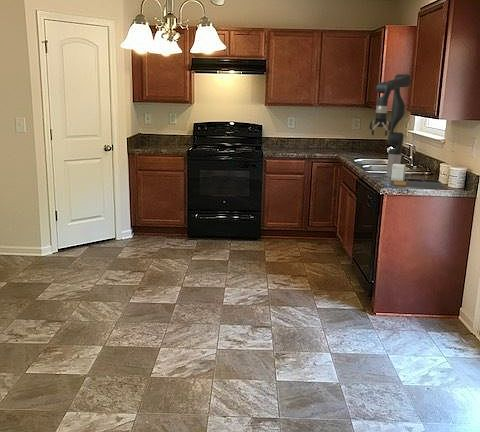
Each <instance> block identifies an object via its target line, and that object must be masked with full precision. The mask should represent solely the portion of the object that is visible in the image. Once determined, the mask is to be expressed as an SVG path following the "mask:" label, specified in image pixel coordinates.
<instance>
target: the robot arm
mask: <svg viewBox="0 0 480 432" xmlns="http://www.w3.org/2000/svg"><path fill="white" fill-rule="evenodd" d="M411 83H412V77H411V75H410V74H406V73H405V74H403V73H402V74H401V73H400V74H399V73H398V74H396V75H395V76H394V79H391V80H387V81H382V82H379V83H377V84H376V86H375V92H377V94H383V96H379V97H377V102H376V107H375V118H374V120H373V119H372V120H370V122H369V127H368V129H369V130H371V135H372V137H373V136H374V135H375V134H374V133H375V129H376V128H383V129H384V137H386V136H388V137H387V143H388V145H391V146H393V145H394V146H396V147H395V148H394V147H393V148H391V149H389V150H388V158H387V165H386V166H387V167H386V177H387V178H389V177H390V178H391V176H392V166H393V164H401V159H402V150H403V149H402V148H403V145H404V144H403V142H404V137H405V136H404V133H403V132H399V131H398V132H396V131H395V129H396V126H397V125H398V124H399V122H400V121H401V120H402V119H403V118H404V115H405V110H406V103H405V102H404V100H403V99H404V98H402V95H401V88H407V87H409V86H411ZM392 91H393V97H392V98H393V99H392V106H391V114H390V120H389V121H388V120H387V115H388V103H389V97H390V95H391V93H392ZM373 124H374V125H373ZM386 124H387V126H388V127H387V126H386Z"/></svg>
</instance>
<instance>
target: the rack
mask: <svg viewBox="0 0 480 432" xmlns="http://www.w3.org/2000/svg"><path fill="white" fill-rule="evenodd" d="M387 184H388V185H389V186H390V187H399V188H400V187H401V188H418V189H419V188H420V189H421V188H422V189H435V188H438V190H439V189H440V190H441V189H442V188H443V182H441V181H440V180H439V179H429V178H428V179H425V178H409V177H407V178H406V177H405V180H404V181H397V180H391V177H388V182H387Z"/></svg>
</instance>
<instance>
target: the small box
mask: <svg viewBox="0 0 480 432" xmlns="http://www.w3.org/2000/svg"><path fill="white" fill-rule="evenodd" d="M406 169H407V165H406V164H401V163H400V164H393V166H392V176H391V177H390V178H391V180H397V181H404V180H405V178H406V171H407V170H406Z"/></svg>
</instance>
